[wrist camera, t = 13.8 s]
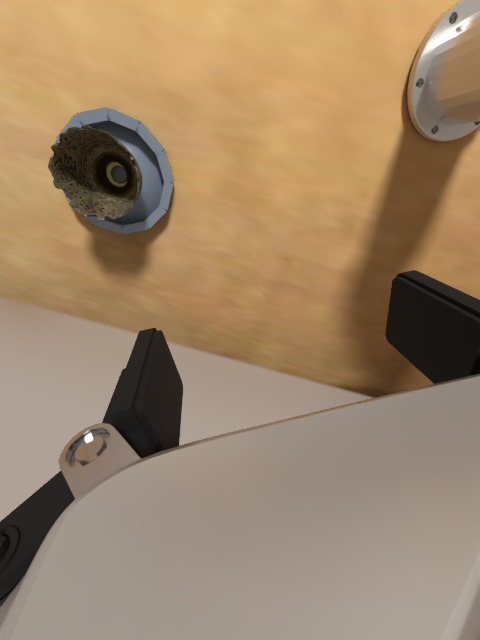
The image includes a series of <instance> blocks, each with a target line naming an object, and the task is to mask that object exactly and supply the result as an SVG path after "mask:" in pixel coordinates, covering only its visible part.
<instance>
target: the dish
mask: <svg viewBox="0 0 480 640" xmlns="http://www.w3.org/2000/svg"><path fill="white" fill-rule="evenodd" d="M76 114H77V115H74V116H73V117H72V118H71V120H70V121H69V122H68V124H67V125H66V126H65V127H64V129H63V130H62V131H61V133H64V132H65V131H67V129H68V128H70V127H79V128H83V127H84V125H88V126H91V127H92V128H95V129H101V130H104V131H106V132H108V133H110V134H111V135H112V136H114V137H115V138H116V139H117V140H118V141H119V142H121V143H122V144H123V145H124V146H125V147H126V148H127V149H128V150H129V151H130V152H131V153H132V154H133V156H134V157H135V159H136V161H137V163H138V165H139V167H140V170H141V174H142V189H141V193H140V195H139V198H138V199H137V201H136V203H135V205H134V207H133V208H132V209H130V210H129V211H128V212H127V213H126V214H125V215H124V216H122V217H119V218H116V219H113V220H112V219H109V218H106V219H105V220H98V219H97V217H86V216H84V217H85V218H86V219H87V220H88V221H90V222H91V223H92V224H93V225H96V227H99V228H102V229H106V230H109V231H112V232H115V233H119V234H122V235H123V234H124V235H125V234H130V233H135V232H139V231H144V230H148V229H150V228H151V227H152V226H153V225H154V224H155V223H156V222H157V221H158V220H159V219H160V218H161V217H162V216H163V215H164V214H165V213H166V212H167V211H168V209H169V205H170V200H171V197H172V191H173V186H174V183H173V181H174V179H173V175H172V170H171V166H170V163H169V160H168V157H167V153H166V151H165V149H164V148H163V147H162V145H161V144H160V143H159V142H158V141H157V139H156V138H155V137H154V136H153V135H152V134H151V132H150V131H149V130H148V129H147V128H146V126H145V125H144V124H143V123H142V122H140V121H138V120H136V119H134V118H131V117H129V116H127V115H124V114H122V113H120V112H117V111H115V110H113V109H110V108H101V109H96V110H90V111H85V112H80V113H76ZM57 138H58V139H60V134H59V135H58V136H57ZM56 143H60V141H59V140H56ZM112 177H113V179H114V180H115V181H117V182H119V183H122V182H124V181H125V180H126V178H127V174H126V172H125V170H124V169H123V168H121V167H119V166H117V167H114V168H113V169H112ZM64 193H65V192H64ZM67 199H68V201H69V203H70V199H69V198H68V197H67ZM75 209H76V210H77V211H78V209H77V208H75ZM78 212H79V211H78Z"/></svg>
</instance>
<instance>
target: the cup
mask: <svg viewBox="0 0 480 640" xmlns="http://www.w3.org/2000/svg"><path fill="white" fill-rule="evenodd" d="M59 141H60V143H55V144H54V145H53V146H51V149H52V150H53V151H54V154H53V156H52V157H51V158H50V161H49V164H48V168H49V170H50V172H51V173H52V176H53V177H54V180H53V183H54V185H55V187H56V188H57V189H62V190H63V191H64V192H65V195H66V197H68V198H69V199H70V203H69V205H70V206H71V207H73V208H77V209H78V211H79V213H80V214H81V215H83V216H86V217H97V219H98V220H105V219H106V218H109V219H112V220H113V219H116V218H119V217H122V216H124V215H125V214H126V213H127V212H128V211H129V210H130V209H132V208H133V207H134V205H135V203H136V201H137V199H138V198H139V195H140V193H141V189H142V174H141V170H140V167H139V165H138V163H137V161H136V159H135V157H134V156H133V154H132V153H131V152H130V151H129V150H128V149H127V148H126V147H125V146H124V145H123V144H122V143H121V142H119V141H118V140H117V139H116V138H115V137H114V136H112V135H111V134H110V133H108V132H106V131H104V130H101V129H95V128H92V127H91V126H88V125H84V127H83V128H79V127H70V128H68V129H67V131H65V132H64V133H60V139H59ZM117 166H119V167H121V168H123V169H124V170H125V172H126V174H127V178H126V180H125V181H124V182H122V183H119V182H117V181H115V180H114V179H113V177H112V169H113V168H114V167H117Z"/></svg>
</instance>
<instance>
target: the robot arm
mask: <svg viewBox="0 0 480 640" xmlns="http://www.w3.org/2000/svg"><path fill="white" fill-rule="evenodd" d="M407 104H408V110H409V115H410V118H411V121H412V124H413V125H414V127H415V128H416V130H417V131H418V132H419V133H420V134H421V135H422V136H423V137H425V138H427V139H429V140H432V141H438V142H441V141H450V140H455V139H459V138H461V137H463V136H466V135H468V134H469V133H471V132H472V131H474V130H475V129H477V128H478V127H479V126H480V0H462V1H461V2H459V3H457V4H456V5H455V6H453V7H452V8H451V9H449V10H448V11H447V12H446V13H445V14H444V15H443V16H442V17H441V18H440V19H439V20H438V21H437V22H436V23H435V24H434V26H433V27H432V28H431V30H430V31H429V32H428V34H427V35H426V37H425V39H424V41H423V42H422V44H421V46H420V48H419V50H418V53H417V55H416V57H415V60H414V62H413V66H412V69H411V73H410V76H409V83H408V90H407ZM386 339H387V341H388V342H389V343H390V344H391V345H392V346H393V347H394V348H396V349H397V350H398V351H399V352H400V353H401V354H402V355H403V356H404V357H405V358H407V359H408V360H409V361H410V362H411V363H412V364H413V365H414V366H415V367H416V368H418V369H419V370H420V371H421V372H422V373H423V374H424V375H425V376H426V377H427V378H429V379H430V380H431V381H432V382H433V383H434V384H433V385H428V386H424V387H420V388H415V389H411V390H407V391H402V392H398V393H394V394H389V395H385V396H381V397H377V398H372V399H368V400H364V401H360V402H356V403H351V404H347V405H343V406H339V407H334V408H330V409H326V410H321V411H317V412H313V413H309V414H305V415H301V416H296V417H292V418H288V419H284V420H280V421H276V422H272V423H267V424H264V425H259V426H255V427H251V428H247V429H243V430H239V431H235V432H231V433H227V434H222V435H219V436H214V437H210V438H206V439H203V440H199V441H195V442H192V443H188V444H184V445H181V446H179V437H180V423H181V410H182V396H183V384H182V381H181V378H180V375H179V373H178V371H177V368H176V365H175V363H174V360H173V358H172V355H171V353H170V350H169V348H168V345H167V342H166V340H165V337H164V335H163V332H162V331H161V330H160V331H157V330H156V328H152V329H147V330H143V331H140V332H139V334H138V337H137V340H136V342H135V345H134V348H133V350H132V353H131V356H130V358H129V361H128V364H127V367H126V368H125V369H123V371H122V372H121V375H120V377H119V380H118V383H117V385H116V388H115V391H114V393H113V396H112V398H111V401H110V404H109V406H108V409H107V412H106V414H105V417H104V419H103V422H102V423H100V424H95V425H93V426H90V427H88V428H86V429H84V430H82V431H81V432H79V433H78V434H77V435H76V436H75V437H73V438H72V439H71V440H70V441H69V443H68V444H67V445H66V446H65V447H64V449H63V451H62V453H61V455H60V459H59V465H60V469H61V471H60V472H59V473H58V474H56V475H55V476H54V477H53V478H52V479H51V480H50V481H48V482H47V483H46V484H45V485H43V486H42V487H41V488H40V489H39V490H37V491H36V492H35V493H34V494H33V495H32V496H30V497H29V498H28V499H27V500H26V501H24V502H23V503H22V504H21V505H20V506H18V507H17V508H16V509H15V510H14V511H13V512H11V513H10V514H9V515H8V516H7V517H6V518H4V519H3V520H2V521H1V522H0V640H480V300H478V299H476V298H474V297H472V296H470V295H468V294H466V293H463V292H461V291H459V290H457V289H455V288H453V287H450V286H448V285H446V284H444V283H442V282H440V281H437V280H435V279H433V278H431V277H429V276H427V275H425V274H422V273H420V272H418V271H415V270H413V271H408V272H404V273H399V274H398V275H397V276H396V278H394V279H393V281H392V288H391V296H390V303H389V311H388V319H387V327H386Z"/></svg>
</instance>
